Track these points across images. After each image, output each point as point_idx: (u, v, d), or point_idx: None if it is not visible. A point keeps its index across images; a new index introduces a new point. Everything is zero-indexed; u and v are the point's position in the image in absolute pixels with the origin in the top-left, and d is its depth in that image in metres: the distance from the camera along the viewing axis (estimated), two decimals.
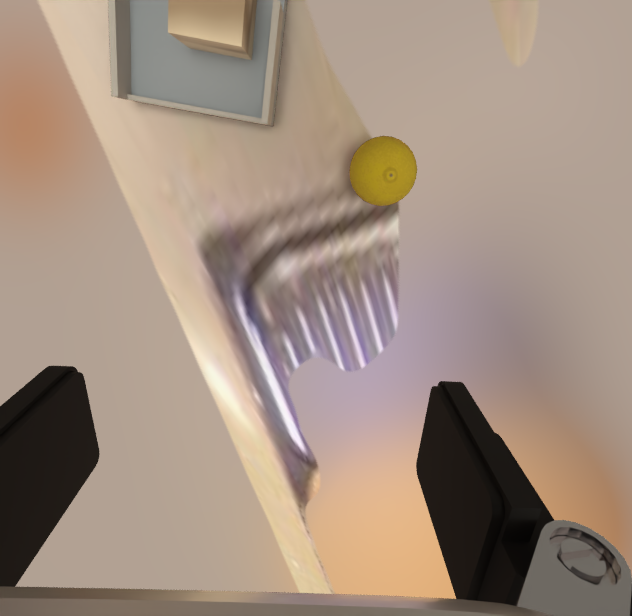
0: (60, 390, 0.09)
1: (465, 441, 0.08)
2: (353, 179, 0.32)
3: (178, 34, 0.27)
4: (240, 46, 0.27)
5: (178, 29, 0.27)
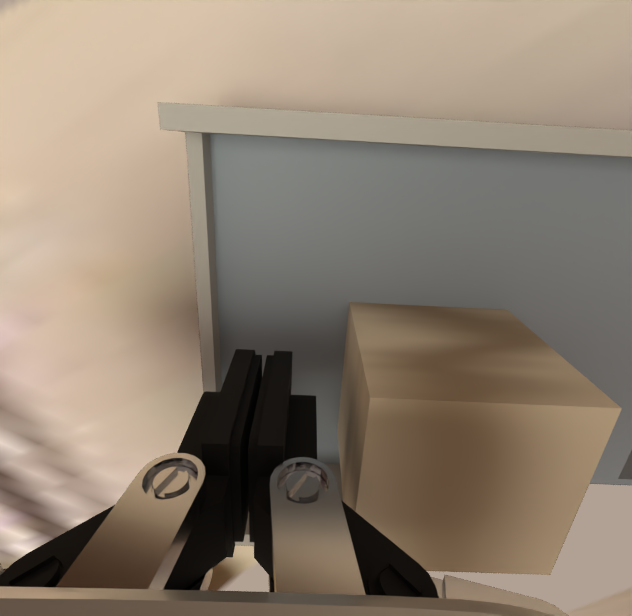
0: (258, 369, 0.10)
1: (260, 397, 0.09)
2: None
3: (367, 422, 0.08)
4: None
5: (380, 427, 0.08)
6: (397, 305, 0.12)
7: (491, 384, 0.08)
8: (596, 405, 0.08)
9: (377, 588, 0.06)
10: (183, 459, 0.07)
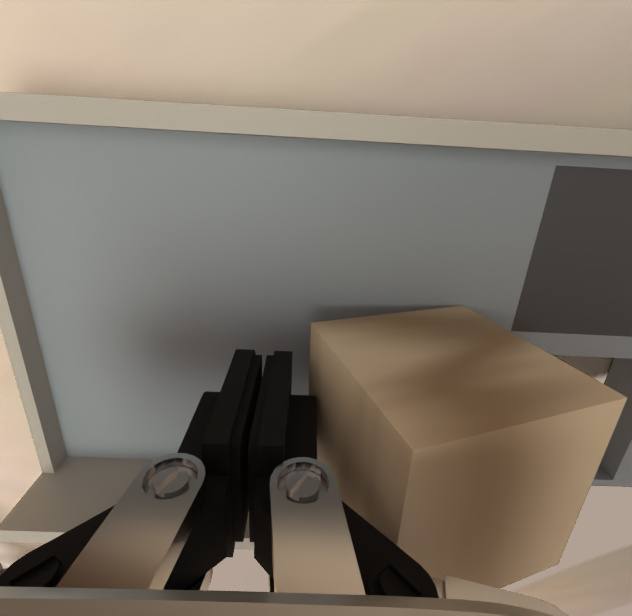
0: (258, 369, 0.10)
1: (260, 397, 0.09)
2: None
3: (405, 477, 0.07)
4: None
5: (422, 480, 0.07)
6: (362, 318, 0.11)
7: (511, 399, 0.08)
8: (605, 399, 0.08)
9: (377, 588, 0.06)
10: (183, 459, 0.07)
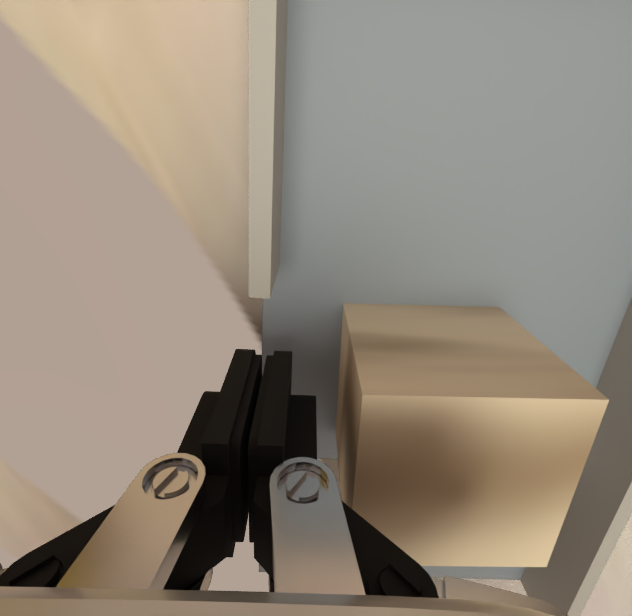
0: (258, 369, 0.10)
1: (260, 397, 0.09)
2: None
3: (572, 396, 0.08)
4: (366, 392, 0.08)
5: (570, 411, 0.08)
6: None
7: None
8: None
9: (377, 588, 0.06)
10: (183, 459, 0.07)
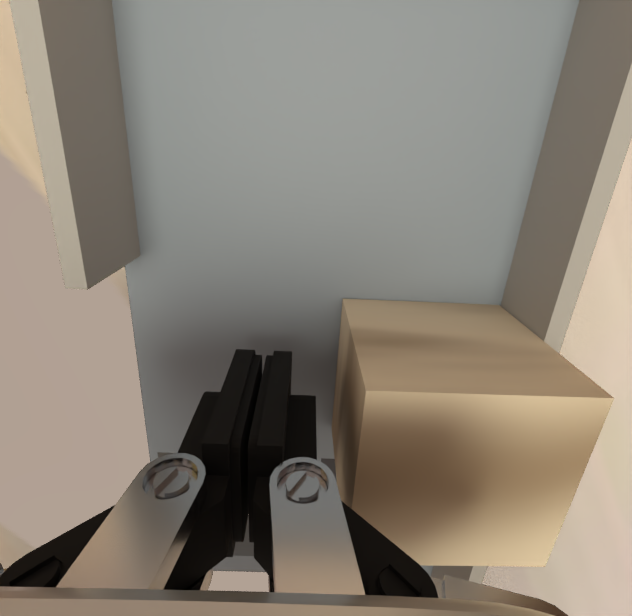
0: (258, 369, 0.10)
1: (260, 397, 0.09)
2: None
3: (577, 394, 0.08)
4: (369, 388, 0.08)
5: (574, 409, 0.08)
6: None
7: None
8: None
9: (377, 588, 0.06)
10: (183, 459, 0.07)
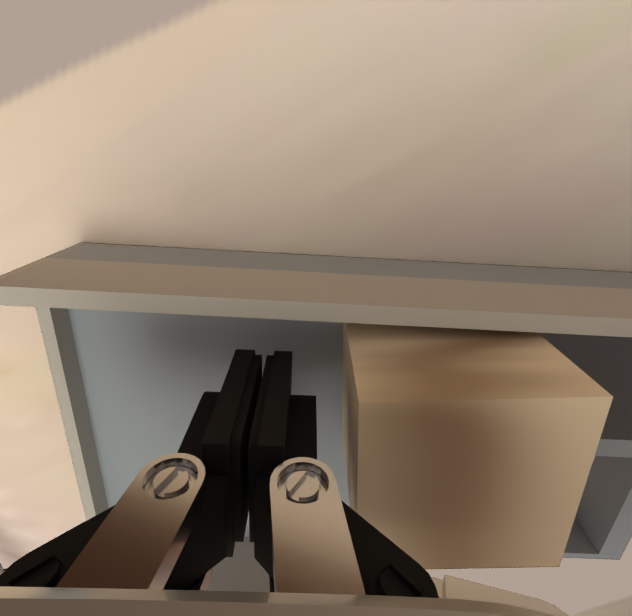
0: (258, 369, 0.10)
1: (260, 397, 0.09)
2: None
3: (358, 426, 0.08)
4: None
5: (372, 430, 0.08)
6: None
7: (481, 380, 0.08)
8: (587, 395, 0.08)
9: (377, 588, 0.06)
10: (183, 459, 0.07)
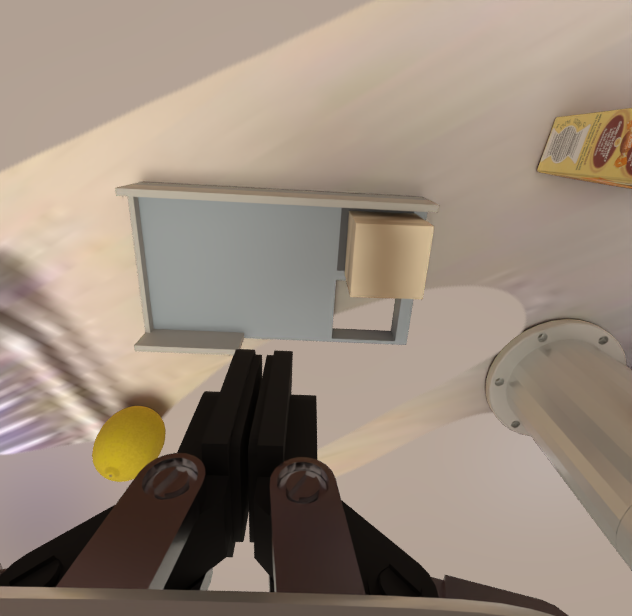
0: (258, 369, 0.10)
1: (260, 397, 0.09)
2: (110, 427, 0.33)
3: (355, 233, 0.25)
4: (350, 295, 0.27)
5: (359, 234, 0.25)
6: None
7: (395, 223, 0.25)
8: (427, 226, 0.25)
9: (377, 588, 0.06)
10: (183, 459, 0.07)
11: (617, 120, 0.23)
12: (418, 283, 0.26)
